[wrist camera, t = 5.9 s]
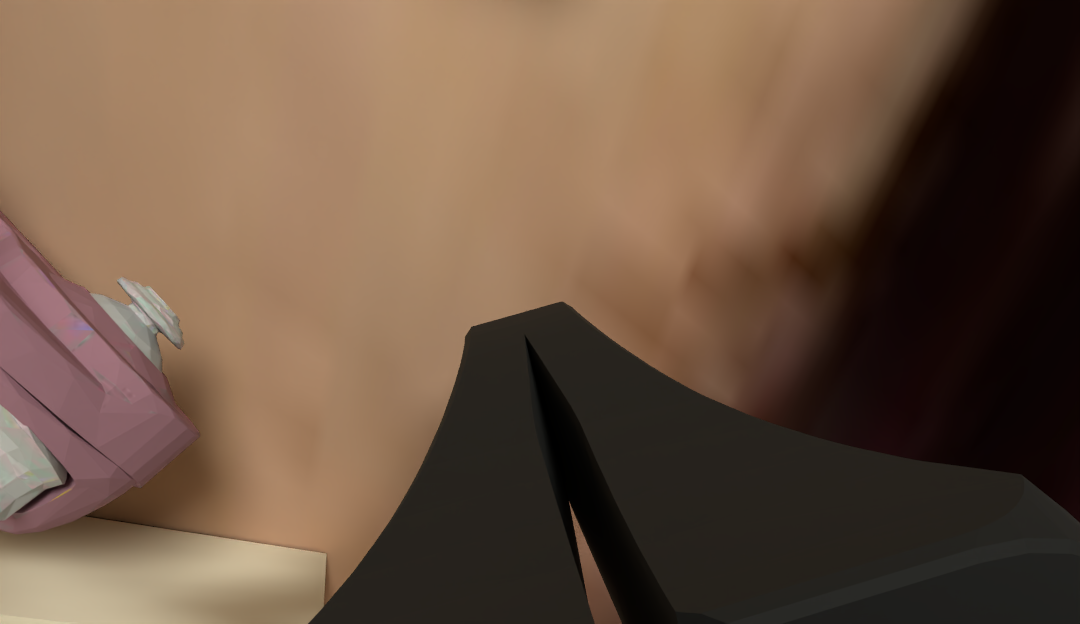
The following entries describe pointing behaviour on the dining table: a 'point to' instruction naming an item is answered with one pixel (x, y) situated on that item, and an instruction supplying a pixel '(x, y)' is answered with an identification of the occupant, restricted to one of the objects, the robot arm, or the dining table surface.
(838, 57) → the dining table surface
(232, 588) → the bay
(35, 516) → the video game controller
